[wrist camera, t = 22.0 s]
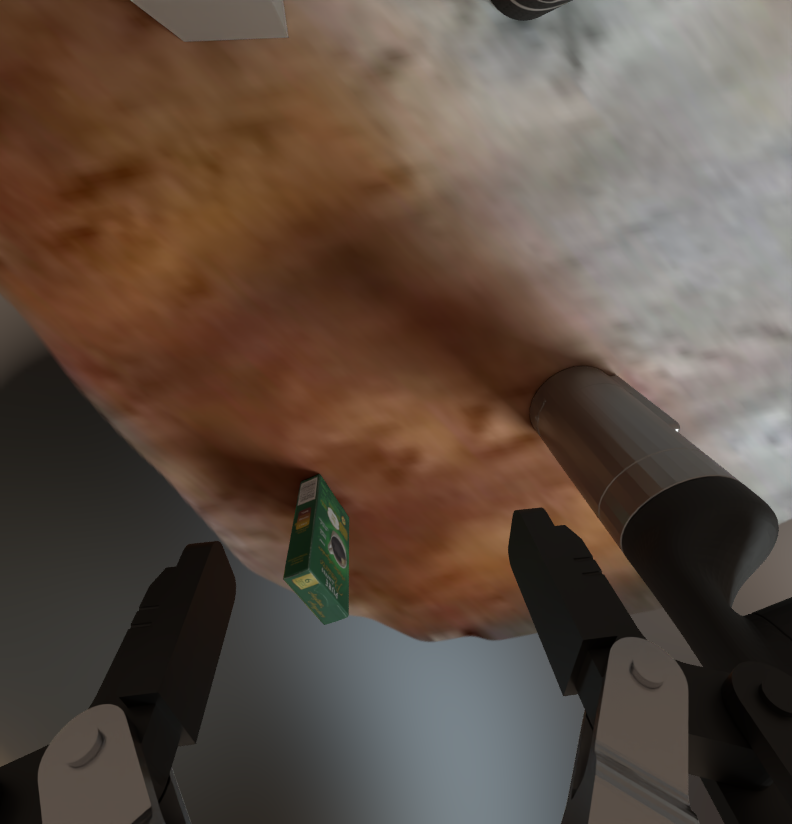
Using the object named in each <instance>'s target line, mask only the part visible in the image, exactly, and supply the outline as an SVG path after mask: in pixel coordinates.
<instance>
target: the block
mask: <svg viewBox="0 0 792 824" xmlns="http://www.w3.org/2000/svg"><path fill="white" fill-rule="evenodd" d="M130 1H132V2H133V3H134V4H136V5H137V6H138V7H140V8H141V9H142V10H143V11H145V12H146V13H147V14H149V15H150V16H151V17H153V18H154V19H155V20H157V21H158V22H159V23H160V24H162V25H163V26H164V27H166V28H167V29H168V30H170V31H171V32H172V33H174V34H175V35H176V36H177V37H179V38H180V39H181V40H183V41H184V42H188V41H214V40H239V39H265V38H288V31H287V24H286V17H285V10H284V3H283V0H130Z"/></svg>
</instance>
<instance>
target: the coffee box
mask: <svg viewBox="0 0 792 824" xmlns="http://www.w3.org/2000/svg"><path fill="white" fill-rule="evenodd" d="M283 580H284V581H285V582H286V583H287V584H288V585H289V586H290V587H291V588H292V589H293V591H294V592H295V593H296V594H297V595H298V596H299V597H300V598H301V600H302V601H303V602H304V603H305V604H306V605H307V606H308V608H309V609H310V610H311V611H312V612H313V613H314V614H315V615H316V617H317V618H318V619H319V620H320V621H321V622H322V623H323V624H324V625H325V624H329V623H332V622H336V621H338V620H341V619H344V618H347V617H348V615H349V517H348V515H347V514H346V512H345V511H344V509H343V507H342V506H341V505H340V504H339V502H338V501H337V499H336V497H335V496H334V494H333V493H332V491H331V490H330V488H329V487H328V485H327V484H326V482H325V481H324V479H323V478H322V476H321V475H320V474H318V475H316V476H314V477H311V478H309V479H307V480H304V481H302V482H301V483H300V488H299V493H298V499H297V505H296V510H295V516H294V522H293V527H292V533H291V538H290V544H289V549H288V554H287V560H286V565H285V571H284V576H283Z"/></svg>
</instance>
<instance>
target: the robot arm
mask: <svg viewBox="0 0 792 824" xmlns="http://www.w3.org/2000/svg"><path fill="white" fill-rule="evenodd" d="M530 419H531V423H532V425H533V427H534V429H535V430H536V431H537V433H538V434H539V436H540V437H541V438H542V440H543V441H544V443H545V444H546V445H547V447H548V448H549V450H550V451H551V453H552V454H553V455H554V457H555V458H556V460H557V461H558V462H559V464H560V465H561V467H562V468H563V469H564V471H565V472H566V474H567V475H568V476H569V478H570V479H571V481H572V482H573V483H574V485H575V486H576V488H577V489H578V490H579V492H580V493H581V495H582V496H583V497H584V499H585V500H586V502H587V503H588V504H589V506H590V507H591V509H592V510H593V511H594V513H595V514H596V516H597V517H598V518H599V520H600V521H601V522H602V524H603V525H604V527H605V528H606V529H607V531H608V532H609V534H610V535H611V536H612V538H613V539H614V541H615V542H616V543H617V545H618V546H619V548H620V549H621V550H622V552H623V553H624V555H625V556H626V558H627V559H628V560H629V562H630V563H631V564H632V566H633V567H634V568H635V570H636V571H637V573H638V574H639V575H640V577H641V578H642V579H643V581H644V582H645V583H646V585H647V586H648V587H649V589H650V590H651V592H652V593H653V594H654V596H655V597H656V598H657V600H658V601H659V603H660V604H661V605H662V607H663V608H664V610H665V611H666V612H667V614H668V615H669V617H670V618H671V619H672V621H673V622H674V624H675V625H676V627H677V628H678V629H679V631H680V632H681V634H682V635H683V637H684V638H685V640H686V641H687V643H688V644H689V646H690V647H691V649H692V651H693V652H694V654H695V655H696V656H697V658H698V660H699V661H700V663H701V664H702V666H703V667H699V666H694V665H690V664H686V663H683V662H680V661H677V660H675V659H673V658H672V657H671V656H670V655H669V654H668V653H667V652H666V651H665V650H663V649H662V648H661V647H659V646H658V645H656V644H654V643H652V642H650V641H648V640H647V639H646V638H645V637H644V636H643V635H642V634H641V632H640V631H639V629H638V628H637V626H636V625H635V623H634V621H633V620H632V618H631V617H630V615H629V613H628V612H627V610H626V609H625V607H624V605H623V604H622V602H621V601H620V599H619V598H618V596H617V594H616V593H615V591H614V590H613V588H612V586H611V585H610V583H609V582H608V580H607V578H606V577H605V575H603V574H602V570H601V569H600V567H599V566H598V564H597V563H596V561H595V560H593V556H592V555H591V553H590V551H589V550H588V548H587V547H586V545H585V543H584V542H583V540H582V539H581V538H580V537H579V536H577V535H576V534H575V533H574V532H573V531H572V530H570V529H569V528H568V527H567V526H566V525H560V526H554V524H553V522H552V521H551V519H550V517H549V515H548V514H547V512H546V511H545V510H544V509H543V508H532V509H523V510H515V511H514V513H513V518H512V525H511V532H510V538H509V545H508V554H509V560H510V565H511V568H512V571H513V573H514V576H515V578H516V581H517V583H518V586H519V588H520V591H521V593H522V595H523V598H524V600H525V603H526V605H527V608H528V610H529V613H530V615H531V618H532V620H533V623H534V625H535V628H536V630H537V632H538V635H539V637H540V640H541V642H542V645H543V647H544V650H545V652H546V654H547V657H548V660H549V662H550V664H551V667H552V669H553V672H554V674H555V677H556V679H557V682H558V684H559V687H560V689H561V691H562V694H563V696H568V695H576V694H578V695H579V697H580V699H581V702H582V704H583V706H584V708H585V711H584V714H583V720H582V725H581V731H580V735H579V741H578V746H577V751H576V757H575V762H574V768H573V773H572V779H571V783H570V789H569V794H568V799H567V803H566V808H565V811H564V815H563V818H562V822H561V824H699V821H698V818H697V816H696V814H695V813H694V812H693V811H692V810H691V808H690V805H689V798H688V774H691V775H695V776H699V777H700V778H701V780H702V782H703V784H704V786H705V788H706V789H707V791H708V793H709V795H710V797H711V799H712V801H713V803H714V805H715V806H716V808H717V810H718V812H719V814H720V816H721V818H722V820H723V822H724V823H725V824H792V597H791V598H789V599H786V600H784V601H781V602H779V603H776V604H773V605H771V606H768V607H766V608H763V609H761V610H758V611H756V612H753V613H752V614H748V615H745V616H741V615H739V614H738V613H736V612H735V611H734V610H733V609H732V608H731V607H732V604H733V602H734V599H735V597H736V595H737V593H738V591H739V589H740V588H741V586H742V585H743V584H744V583H745V581H746V580H747V579H748V578H749V577H750V576H751V575H752V574H753V573H754V572H755V570H756V569H757V568H758V567H759V566H760V565H761V564H762V563H763V562H764V561H765V559H766V558H767V557H768V555H769V554H770V552H771V551H772V549H773V547H774V545H775V543H776V540H777V537H778V531H779V530H778V529H779V527H778V520H777V517H776V515H775V513H774V512H773V511H772V509H771V508H770V507H769V505H768V504H767V503H766V502H764V501H763V500H762V499H761V498H760V497H759V496H758V495H756V494H755V493H754V492H753V491H751V490H750V489H749V488H748V487H746V486H745V485H744V484H742V483H741V482H740V481H739V480H737V479H736V478H735V477H734V476H732V475H731V474H730V473H729V472H727V471H726V470H725V469H724V468H722V467H721V466H720V465H719V464H717V463H716V462H715V461H714V460H712V459H711V458H710V457H709V456H708V455H706V454H705V453H703V452H702V451H701V450H700V449H699V448H697V447H696V446H695V445H694V444H692V443H691V442H690V441H689V440H687V439H686V438H685V437H684V436H682V435H681V434H680V433H679V431H680V425H679V424H678V422H677V421H675V420H674V419H673V418H671V417H670V416H669V415H668V414H666V413H665V412H664V411H662V410H661V409H660V408H658V407H657V406H656V405H655V404H653V403H652V402H651V401H649V400H648V399H647V398H646V397H644V396H643V395H642V394H640V393H639V392H638V391H637V390H635V389H634V388H633V387H631V386H630V385H629V384H628V383H626V382H625V381H624V380H622V379H621V378H620V377H618V376H608V375H607V374H605V373H604V372H602V371H601V370H599V369H597V368H594V367H589V366H578V367H572V368H569V369H565V370H563V371H561V372H559V373H557V374H555V375H554V376H552V377H551V378H549V379H548V380H547V381H546V382H545V383H544V384H543V385H542V386H541V387H540V389H539V390H538V391H537V392H536V394H535V396H534V398H533V400H532V403H531V407H530ZM235 595H236V582H235V577H234V574H233V571H232V569H231V567H230V564H229V561H228V559H227V556H226V554H225V551H224V549H223V546H222V544H221V543H220V542H219V541H214V542H204V543H195V544H189V545H187V546H186V547H185V549H184V551H183V553H182V555H181V557H180V559H179V562H178V564H177V566H176V567H168V568H165V570H164V571H163V572H162V573H161V574H160V575H159V576H158V577H157V578H156V579H155V581H154V582H153V583H152V584H151V585H150V586H149V588H148V590H147V592H146V594H145V597H144V598H143V600H142V602H141V604H140V607H139V611H137V613H136V615H135V617H134V619H133V621H132V623H131V628H130V629H128V631H127V633H126V635H125V637H124V640H123V642H122V644H121V646H120V648H119V650H118V652H117V654H116V656H115V658H114V660H113V662H112V664H111V666H110V668H109V671H108V673H107V675H106V677H105V679H104V681H103V683H102V685H101V687H100V689H99V691H98V693H97V695H96V697H95V699H94V701H93V703H92V704H91V705H90V707H89V708H88V710H86V711H84V712H82V713H81V714H79V715H78V716H76V717H75V718H74V719H73V720H71V721H70V722H69V723H68V724H66V725H65V726H64V727H63V728H62V730H60V732H59V733H58V734H57V735H56V736H55V738H54V739H53V740H52V741H51V743H50V744H49V745H47V746H45V747H43V748H41V749H39V750H37V751H35V752H32V753H30V754H28V755H26V756H24V757H22V758H19V759H17V760H15V761H13V762H10V763H8V764H6V765H4V766H2V767H0V824H191V822H190V819H189V816H188V813H187V810H186V807H185V804H184V801H183V799H182V795H181V793H180V790H179V787H178V784H177V781H176V778H175V775H174V772H173V770H172V768H171V767H172V763H173V761H174V757H175V754H176V750H177V747H178V746H185V745H192V744H196V741H197V738H198V734H199V730H200V726H201V723H202V719H203V715H204V712H205V708H206V704H207V700H208V697H209V693H210V690H211V686H212V682H213V679H214V675H215V671H216V667H217V664H218V660H219V656H220V653H221V649H222V645H223V642H224V638H225V634H226V630H227V627H228V623H229V619H230V615H231V612H232V608H233V604H234V600H235Z"/></svg>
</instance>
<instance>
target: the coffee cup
mask: <svg viewBox="0 0 792 824" xmlns="http://www.w3.org/2000/svg"><path fill="white" fill-rule="evenodd" d="M491 1H492V2H493V4H494V5H495V6H496V7H497V9H498V10H499V11H501V12H502V13H503V14H504V15H506V16H508V17H510V18H512V19H515V20H523V21H524V20H532V19H535V18H538V17H540V16H542V15H544V14H546V13H548V12H550V11H552V10H554V9H556V8H558V7H560V6H562V5H564V4H566V3H568V2H570V1H572V0H491Z"/></svg>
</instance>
